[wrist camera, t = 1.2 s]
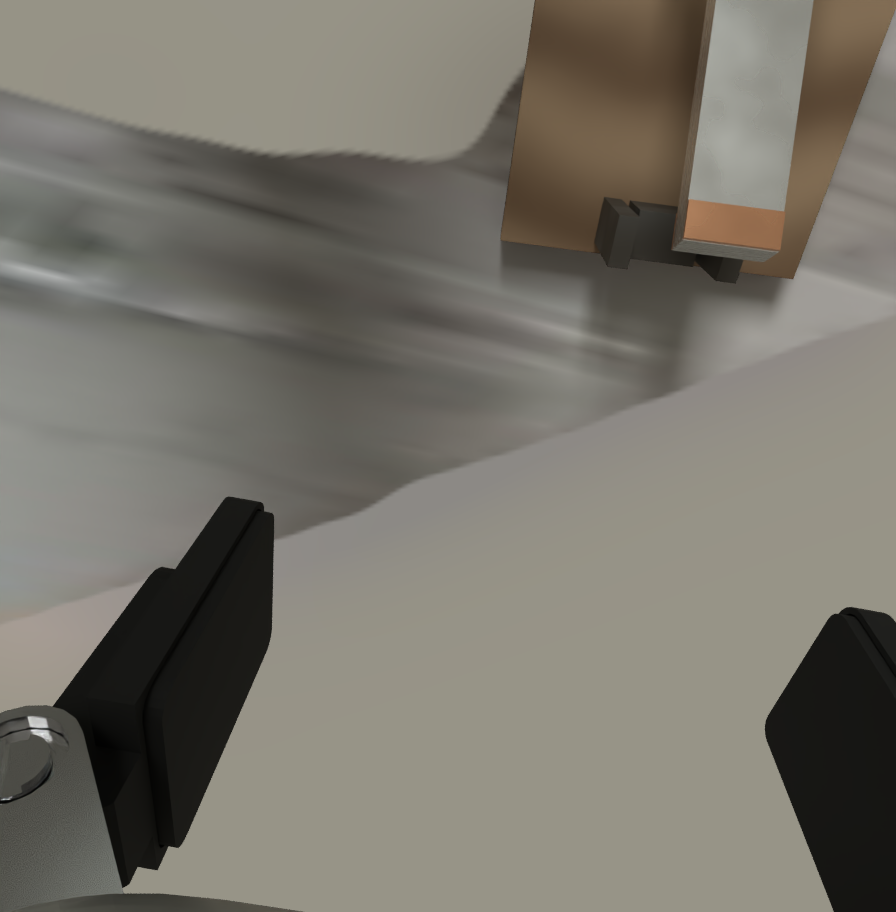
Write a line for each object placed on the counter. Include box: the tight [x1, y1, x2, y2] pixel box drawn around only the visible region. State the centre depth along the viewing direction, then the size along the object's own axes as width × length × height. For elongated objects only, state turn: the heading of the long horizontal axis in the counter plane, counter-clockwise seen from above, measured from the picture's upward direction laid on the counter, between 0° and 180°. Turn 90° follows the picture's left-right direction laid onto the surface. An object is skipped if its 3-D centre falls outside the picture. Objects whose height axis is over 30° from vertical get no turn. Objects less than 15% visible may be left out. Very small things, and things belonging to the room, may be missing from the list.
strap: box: [671, 0, 814, 262], centre depth 21 cm, size 14×3×2 cm, turn 173°
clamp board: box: [501, 0, 896, 284], centre depth 25 cm, size 16×14×7 cm
